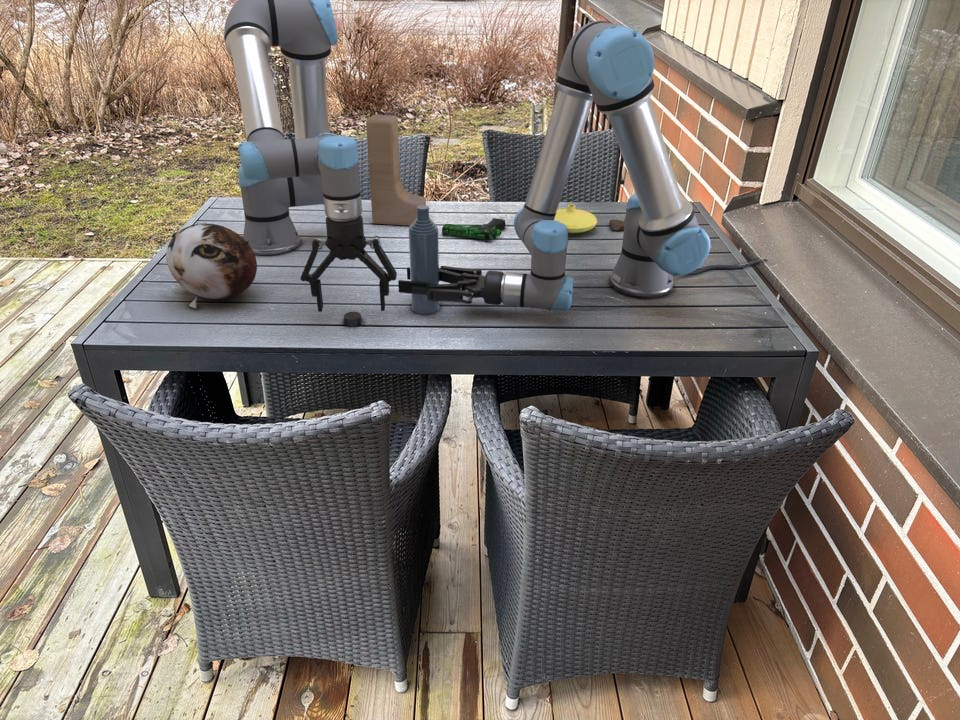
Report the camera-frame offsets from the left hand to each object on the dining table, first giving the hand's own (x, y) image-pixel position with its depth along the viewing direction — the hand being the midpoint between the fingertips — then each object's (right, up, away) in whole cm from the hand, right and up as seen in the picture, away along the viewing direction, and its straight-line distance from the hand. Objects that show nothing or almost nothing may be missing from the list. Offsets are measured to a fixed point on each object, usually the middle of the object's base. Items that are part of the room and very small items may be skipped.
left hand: (352, 308), depth 157 cm
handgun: (+27, +26, +51) cm, 63 cm away
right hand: (+11, +7, +6) cm, 14 cm away
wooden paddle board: (+80, +28, +55) cm, 101 cm away
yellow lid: (+55, +27, +54) cm, 82 cm away
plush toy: (-34, +4, +12) cm, 36 cm away
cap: (0, -2, +1) cm, 2 cm away
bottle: (+16, +1, +9) cm, 18 cm away
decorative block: (+4, +30, +58) cm, 65 cm away
